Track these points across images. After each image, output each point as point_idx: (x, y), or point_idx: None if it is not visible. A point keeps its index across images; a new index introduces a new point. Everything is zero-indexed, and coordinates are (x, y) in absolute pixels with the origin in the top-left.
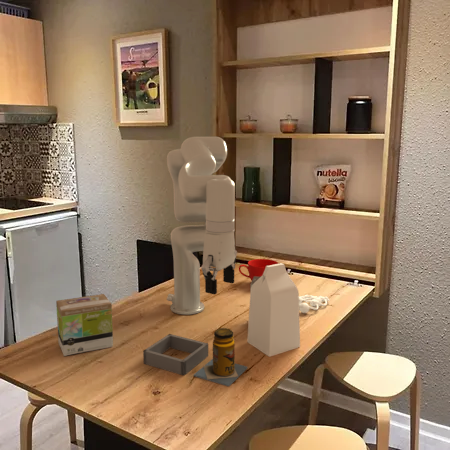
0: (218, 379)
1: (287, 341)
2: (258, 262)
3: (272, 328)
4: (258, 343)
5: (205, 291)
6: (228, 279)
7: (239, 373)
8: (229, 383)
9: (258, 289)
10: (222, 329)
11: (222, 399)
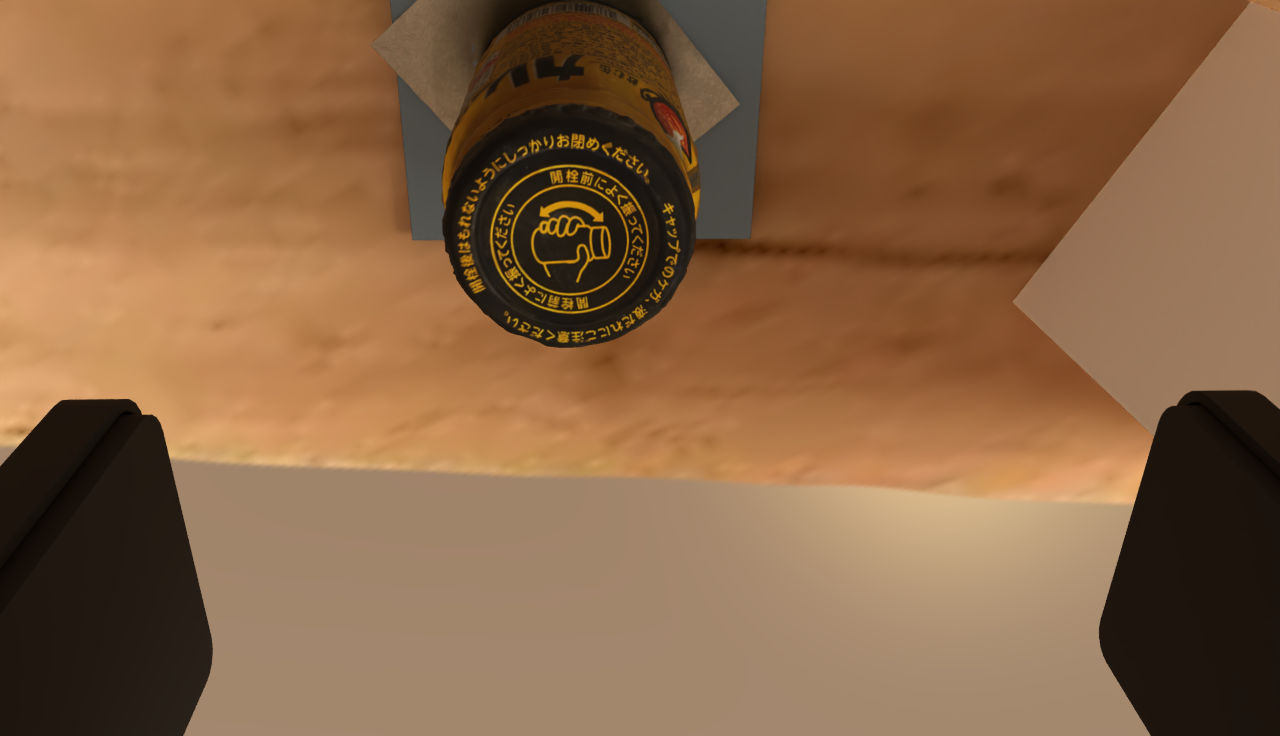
0: (435, 123)
1: None
2: None
3: None
4: (1151, 184)
5: (62, 403)
6: (1167, 603)
7: None
8: (431, 233)
9: None
10: (631, 188)
11: (232, 275)
